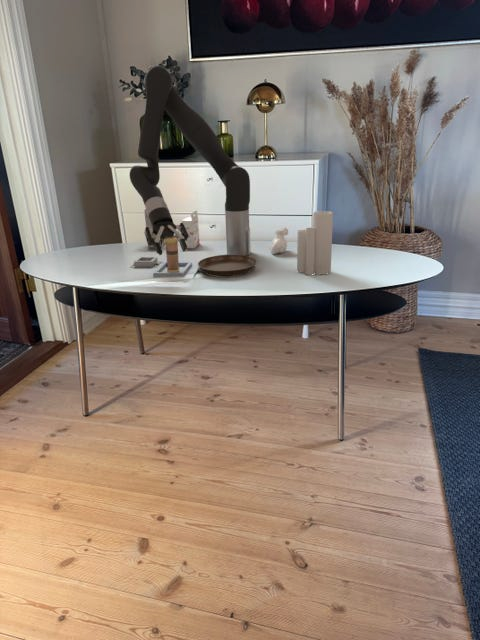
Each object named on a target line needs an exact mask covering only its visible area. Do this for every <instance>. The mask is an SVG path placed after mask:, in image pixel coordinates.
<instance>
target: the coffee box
mask: <svg viewBox="0 0 480 640" xmlns="http://www.w3.org/2000/svg"><path fill="white" fill-rule="evenodd" d="M143 212H144V219H145V228H146V227H148V228H152V226H151V223H150V220H149V218H148V216H147V212H146V208H145V209H144V211H143ZM156 236H157V235H155V234H154V233H153V232H152V233H151V237H152V240H155V239H156ZM158 243H160V246H161V248H163V247H164V245H166V243H165V239H161V238H160V240H159V242H158ZM147 248H149V249H150V248H155V247H154V246H153V245H151V246H149V245H148V244H147Z"/></svg>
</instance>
